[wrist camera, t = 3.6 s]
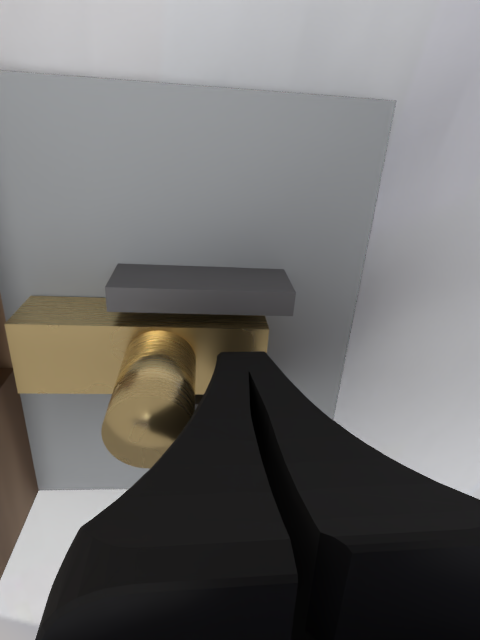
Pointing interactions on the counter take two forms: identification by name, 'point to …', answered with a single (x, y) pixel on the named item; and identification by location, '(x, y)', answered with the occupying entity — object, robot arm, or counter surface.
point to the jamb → (12, 456)
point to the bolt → (126, 364)
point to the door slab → (184, 225)
